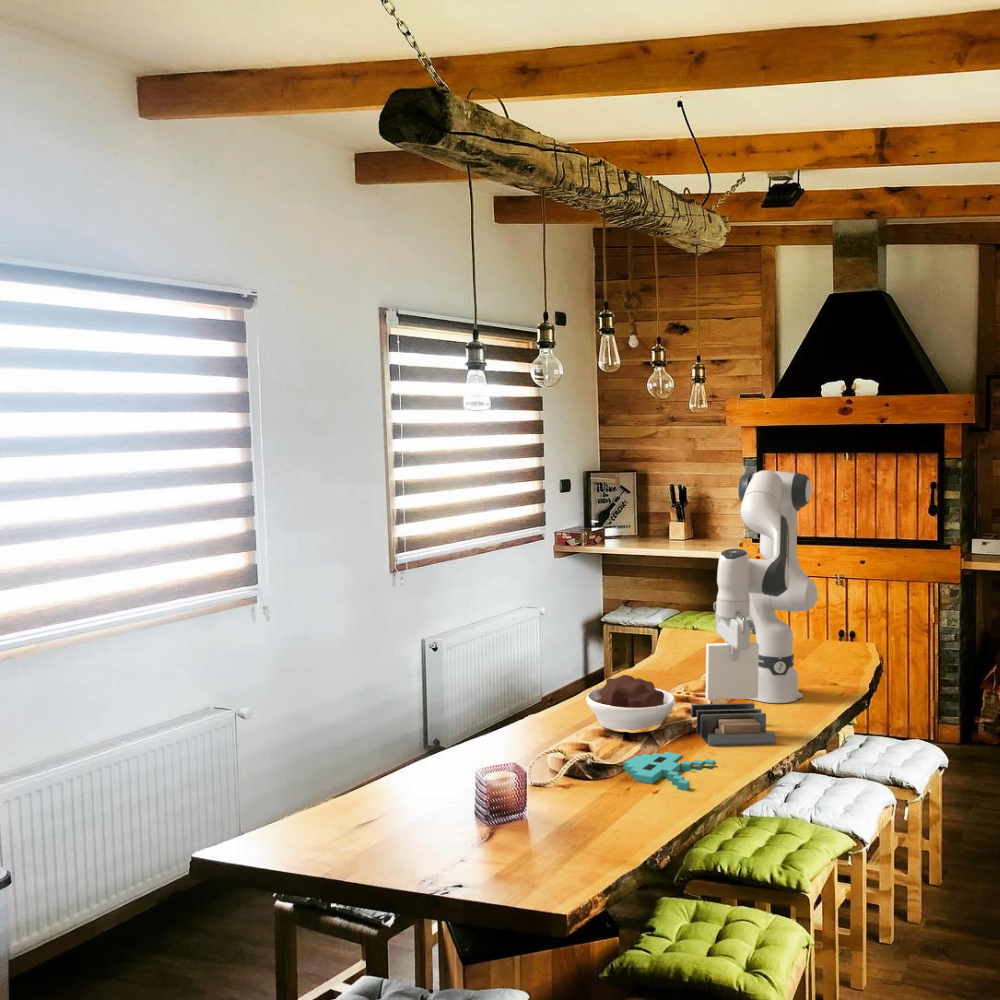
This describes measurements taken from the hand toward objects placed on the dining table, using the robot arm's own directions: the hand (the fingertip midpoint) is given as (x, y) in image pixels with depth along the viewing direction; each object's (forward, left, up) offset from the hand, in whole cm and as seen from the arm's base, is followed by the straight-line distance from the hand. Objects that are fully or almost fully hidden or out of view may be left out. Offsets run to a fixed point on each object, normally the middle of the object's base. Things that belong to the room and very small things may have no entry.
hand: (732, 658), depth 303 cm
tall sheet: (0, 0, -11) cm, 11 cm away
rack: (+1, 0, -22) cm, 22 cm away
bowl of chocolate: (-10, -26, -22) cm, 36 cm away
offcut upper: (+6, 0, -19) cm, 19 cm away
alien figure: (+26, -25, -23) cm, 43 cm away
